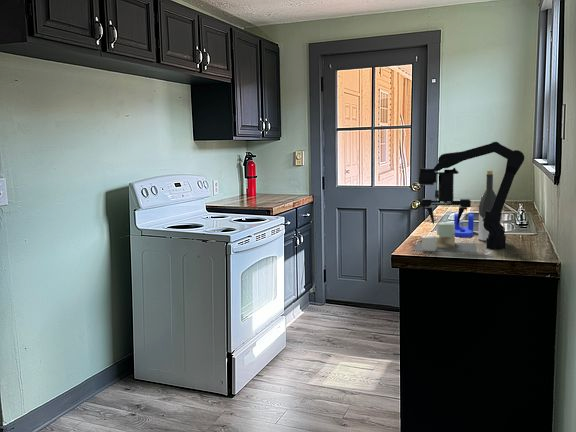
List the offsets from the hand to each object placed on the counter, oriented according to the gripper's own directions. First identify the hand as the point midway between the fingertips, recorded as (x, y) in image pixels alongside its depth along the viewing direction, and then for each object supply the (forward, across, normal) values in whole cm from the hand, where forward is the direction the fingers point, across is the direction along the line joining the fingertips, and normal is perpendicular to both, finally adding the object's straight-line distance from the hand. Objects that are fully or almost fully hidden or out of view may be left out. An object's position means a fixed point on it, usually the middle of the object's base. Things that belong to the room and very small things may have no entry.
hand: (445, 224), depth 218 cm
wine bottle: (+10, -17, -16) cm, 25 cm away
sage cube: (+5, 0, 0) cm, 5 cm away
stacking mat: (+10, 0, +2) cm, 10 cm away
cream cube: (+9, +6, +8) cm, 13 cm away
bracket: (+10, -7, -37) cm, 39 cm away
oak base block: (+9, 0, 0) cm, 9 cm away
